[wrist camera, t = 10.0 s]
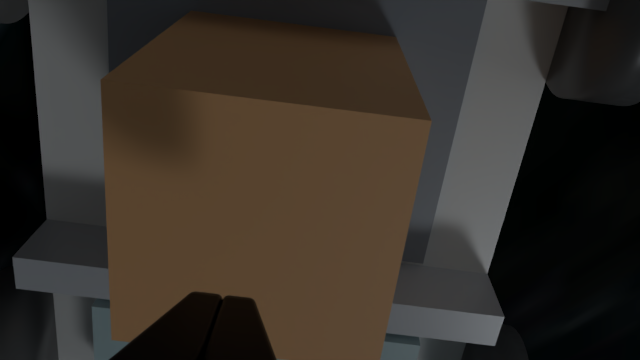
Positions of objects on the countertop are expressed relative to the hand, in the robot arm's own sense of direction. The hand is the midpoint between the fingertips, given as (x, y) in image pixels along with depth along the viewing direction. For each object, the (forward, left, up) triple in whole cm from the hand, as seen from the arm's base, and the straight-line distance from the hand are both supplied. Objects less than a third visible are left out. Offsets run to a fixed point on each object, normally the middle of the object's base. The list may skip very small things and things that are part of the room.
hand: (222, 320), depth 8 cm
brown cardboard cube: (0, 0, -8) cm, 8 cm away
